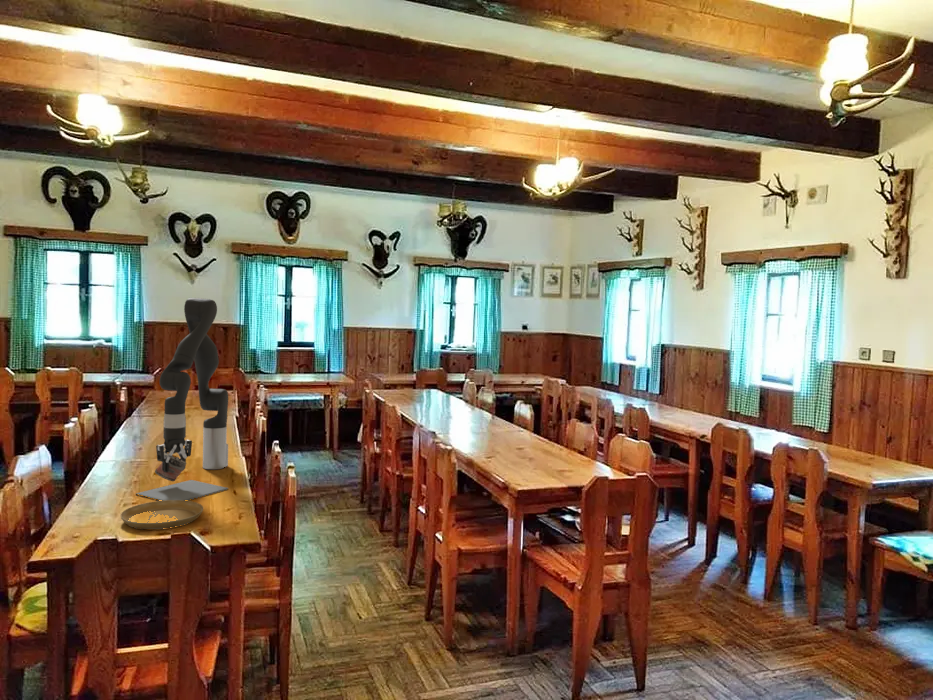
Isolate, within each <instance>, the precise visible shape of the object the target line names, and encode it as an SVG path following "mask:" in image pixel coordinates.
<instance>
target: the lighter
mask: <svg viewBox="0 0 933 700" xmlns="http://www.w3.org/2000/svg"><path fill="white" fill-rule="evenodd" d="M185 465H187V461H186V462H184V461H182V460H180V456H174V455H172V457H170V459H169V472H167V473H166V472H163V470H162V462H161V464H159V466H158V467H157V468H156V469H155V470H154V473H155V474H156V475H157V476H158V477H161V478H162V479H164V480H167V481H168V482H169V481H170V482H175V481H176V480H177V478H178V477H179V476H180V475H181V473H182V472H183V471H185V469H186V466H185Z"/></svg>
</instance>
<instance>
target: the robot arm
mask: <svg viewBox="0 0 933 700" xmlns="http://www.w3.org/2000/svg"><path fill="white" fill-rule="evenodd" d="M183 308H184V309H183V310H184V317H185V321H186V325H187V329H188V332H189V334H187V335H186V336H185V337H184V338H183V339H182V340H181V341H180V342H179V343H178V345H177V347H176V349H175V352H174V355H173V356H172V359H171V360H170V362H169V363H168V364H167V366H166V367H165V368H164V369H163V371H162V372H161V374H160V376H159V381H158V382H159V387H160V388H161V389H162V390H165V391H176V392H175V395H173V396H170V397H166V398H165V400H164V416H163V439H164V440H163V444H156V447H155V449H156V460H157V461H158V462H161V463H162V470H163V472H166V473H167V472H169V459H170V457H172V456H174V454H178V455H179V456H178V457H179V459H180V460H182V461H184V462H186V463H187V458H188V457H191V455H192V449H193V448H192V447H193V446H192V445H193V440H191V439H186V434H187V432H186V431H187V429H186V428H187V425H186V424H187V420H186V419H187V418H186V402H187V398H188V394H189V390H190V387H191V383H192V381H191V380H192V379H191V376H190V375H189V373H188V372H186V371H187V370H189V369H191V368H192V366H193V363H194V365H195V371H196V377H197V387H198V397H199V399H198V400H199V405H200V408H201V410H203V411H208V412H209V411H210V412H211V411H212V412H214V411H215V412H217V414H216V415H215V416H213V417H210V418H206V419H205V420H203V424H202V426H203V428H202V429H203V430H202V431H203V432H202V434H203V435H202V437H203V438H202V468H203V469H205V470H220V469H224V467H225V468H227V467H228V466H229V443H227V433H228V431H227V429H228V428H227V423H228V412H229V411H228V406H229V393H228V391H227V390H226V389H225V388H210V387H209V382H210V380H211V378H212V376H213V375H214V373H215V372H216V370H217V368H218V366H219V363H220V361H219V359H220V358H219V353H218V349H217V348H218V347H217V346H216V344H215V343H214V341H213V340H212V339H211V337H210V336H209V335H208V334H207V333H208V332H209V330H210V329H211V326H212V325H213V323H214V321H215V320H216V316H217V314H218V306H217V302H216V301H215V300H213V299H210V298H200V297H188V298H187V299H186V300H185V302H184V306H183ZM186 465H187V464H186ZM186 465H185V467H186Z"/></svg>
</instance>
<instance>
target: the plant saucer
mask: <svg viewBox="0 0 933 700" xmlns="http://www.w3.org/2000/svg"><path fill="white" fill-rule="evenodd" d="M147 511H148V512H149V511H151V512H153V513H152V514H154V515H155V516H154V517H156V516H157V515H158V514H160V515H162V514H163V515H164V516H165V515H168V516H169V518H172V517H173V516H175V517H176V518H177V519H178V520H176V521H170V522H168V521H169V520H167V522H162V523H158V522H159V521H158V522H156V523H148V522H149V521H148V522H147V523H137V522H131V521H128V520H129V518H131V517H132V516H134V515H136V514H140V513H143V512H147ZM154 511H155V512H154ZM203 511H204V506H203V505H202V504H200V503H198V502H196V501H192V500H188V501H184V500H165V501H158V500H154V501H150V502H149V501H148V502H144V503H139V504H137V505H132V506H130V507H128V508H126V509H125V510H123V511H122V512H121V513H120V519H121V520H122V521H123V522H124V524H126V525H127V526H129V527H130V528H133V527H135V528H134V529H137V528H141V529H140V530H143V529H162V530H164V529H163V528H170V527H175V526H180V525H183V526H185V525H184V524H186V525H188V524H187V523H189V524H191V523H192V522H194V521H195V520H196V519H198V518H199V517H200V516H201V514H202V513H203ZM149 513H150V512H149ZM155 513H156V514H155ZM152 516H153V515H150V516H149V519H148V520H150V518H151V517H152ZM165 518H166V517H165ZM176 518H174V519H176ZM190 522H191V523H190ZM180 527H181V526H180ZM170 529H171V528H170Z"/></svg>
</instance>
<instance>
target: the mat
mask: <svg viewBox="0 0 933 700" xmlns="http://www.w3.org/2000/svg"><path fill="white" fill-rule="evenodd" d="M227 489H228V490H229V487H225V486H221V485H217V484H211V483H207V482H204V481H203V482H202V481H198V480H193V479H189V480H185V481H181V482H177V483H173V484H172V483H171V484H169V485H165V486H161V487H160V486H159V487H156V488H153V489H149V490H144V491H140V492H136V493H135V495H136V494H139V495H143V496H147V497H150V498H154V499H158V500H162V501H165V500H184V501H185V500H188V501H191V500H190V499H192V500H195V499H194V498H196V499H199V498H203V497H206V496H205V495H207V496H209V494H210V495H214V494H217V492H218V493H220V491H221V492H224V490H225V491H227ZM213 493H214V494H213ZM202 496H203V497H202ZM198 497H199V498H198ZM150 498H149V499H150ZM154 499H153V500H154ZM158 500H157V501H158Z"/></svg>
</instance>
